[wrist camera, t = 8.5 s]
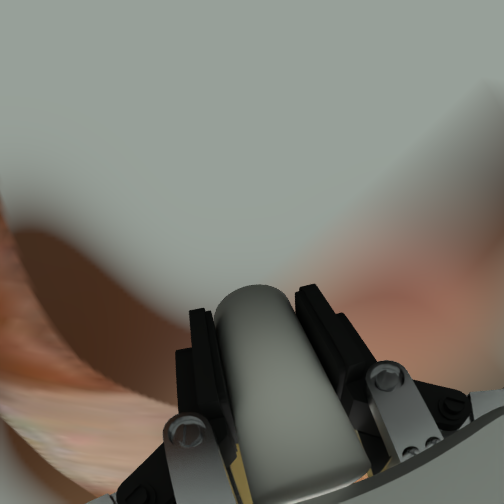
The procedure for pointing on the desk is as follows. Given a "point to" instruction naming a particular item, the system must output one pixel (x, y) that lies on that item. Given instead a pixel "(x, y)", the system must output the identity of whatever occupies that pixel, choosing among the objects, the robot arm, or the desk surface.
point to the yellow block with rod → (282, 404)
